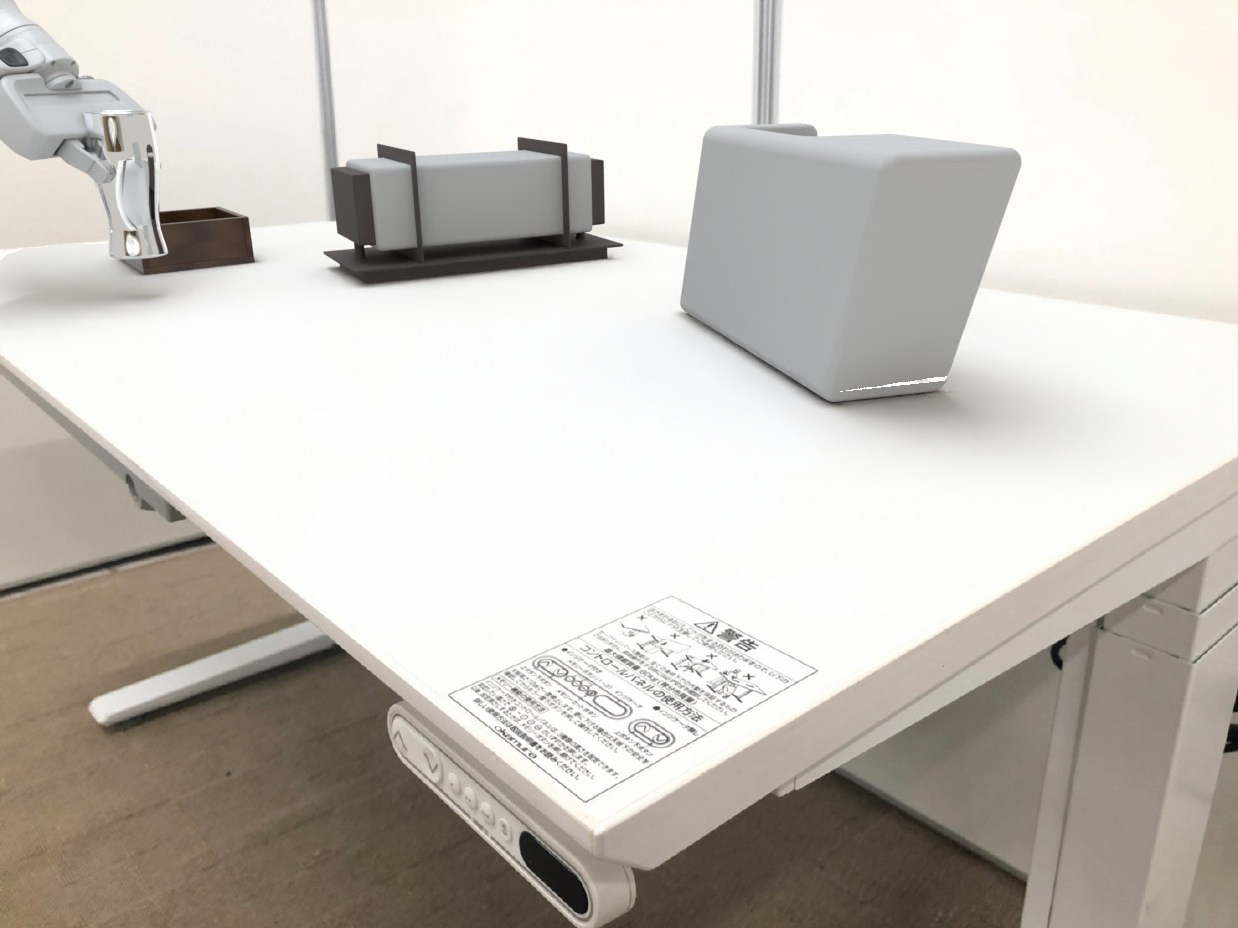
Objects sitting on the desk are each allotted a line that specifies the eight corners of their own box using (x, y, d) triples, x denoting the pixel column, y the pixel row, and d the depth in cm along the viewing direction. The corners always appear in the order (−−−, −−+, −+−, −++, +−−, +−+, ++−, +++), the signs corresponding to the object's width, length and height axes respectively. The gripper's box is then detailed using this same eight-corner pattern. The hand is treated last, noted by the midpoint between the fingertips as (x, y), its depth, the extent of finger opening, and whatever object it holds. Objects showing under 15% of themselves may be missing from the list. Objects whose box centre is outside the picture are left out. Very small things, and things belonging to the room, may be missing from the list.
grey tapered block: (909, 496, 87) (1030, 151, 68) (794, 512, 85) (886, 158, 65) (771, 302, 109) (833, -1, 90) (677, 309, 107) (720, -1, 87)
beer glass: (123, 249, 120) (100, 109, 114) (183, 249, 120) (163, 110, 114) (92, 259, 113) (67, 112, 108) (156, 260, 113) (134, 113, 108)
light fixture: (622, 140, 130) (341, 155, 115) (624, 259, 135) (355, 288, 120) (570, 134, 143) (311, 146, 128) (573, 243, 148) (324, 267, 133)
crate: (144, 274, 130) (135, 227, 128) (121, 259, 141) (113, 215, 139) (254, 262, 137) (248, 216, 135) (225, 248, 148) (219, 206, 146)
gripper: (82, 97, 122) (171, 185, 124) (-54, 103, 103) (54, 208, 105) (110, 56, 120) (201, 147, 122) (-24, 55, 101) (86, 162, 103)
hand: (132, 175), depth 113 cm, fingers closed on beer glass, 7 cm apart
